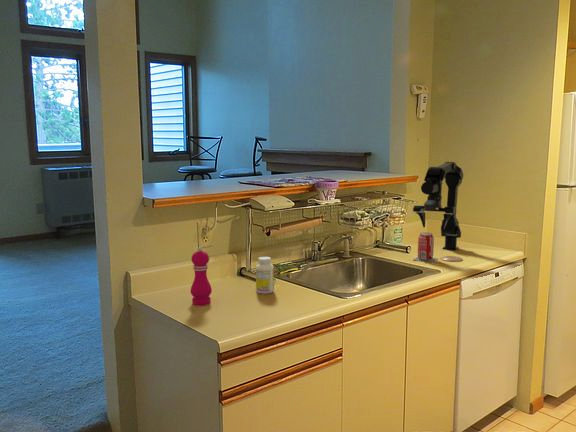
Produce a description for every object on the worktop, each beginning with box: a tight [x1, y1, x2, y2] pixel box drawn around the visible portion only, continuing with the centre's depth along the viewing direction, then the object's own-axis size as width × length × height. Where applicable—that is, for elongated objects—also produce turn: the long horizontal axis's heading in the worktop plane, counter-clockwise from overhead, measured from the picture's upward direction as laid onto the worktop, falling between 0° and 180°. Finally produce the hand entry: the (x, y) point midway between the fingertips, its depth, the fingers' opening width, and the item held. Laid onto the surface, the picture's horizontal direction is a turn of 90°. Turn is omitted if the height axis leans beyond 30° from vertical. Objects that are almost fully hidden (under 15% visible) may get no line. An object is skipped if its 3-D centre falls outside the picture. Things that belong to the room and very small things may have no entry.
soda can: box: [417, 232, 435, 260], centre depth 253 cm, size 7×7×12 cm
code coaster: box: [412, 256, 439, 264], centre depth 254 cm, size 9×9×1 cm
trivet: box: [439, 255, 463, 263], centre depth 254 cm, size 10×10×1 cm
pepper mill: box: [190, 246, 213, 307], centre depth 189 cm, size 7×7×20 cm
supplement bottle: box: [255, 256, 275, 295], centre depth 203 cm, size 7×7×13 cm
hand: (433, 228), depth 253 cm, fingers open, 9 cm apart
